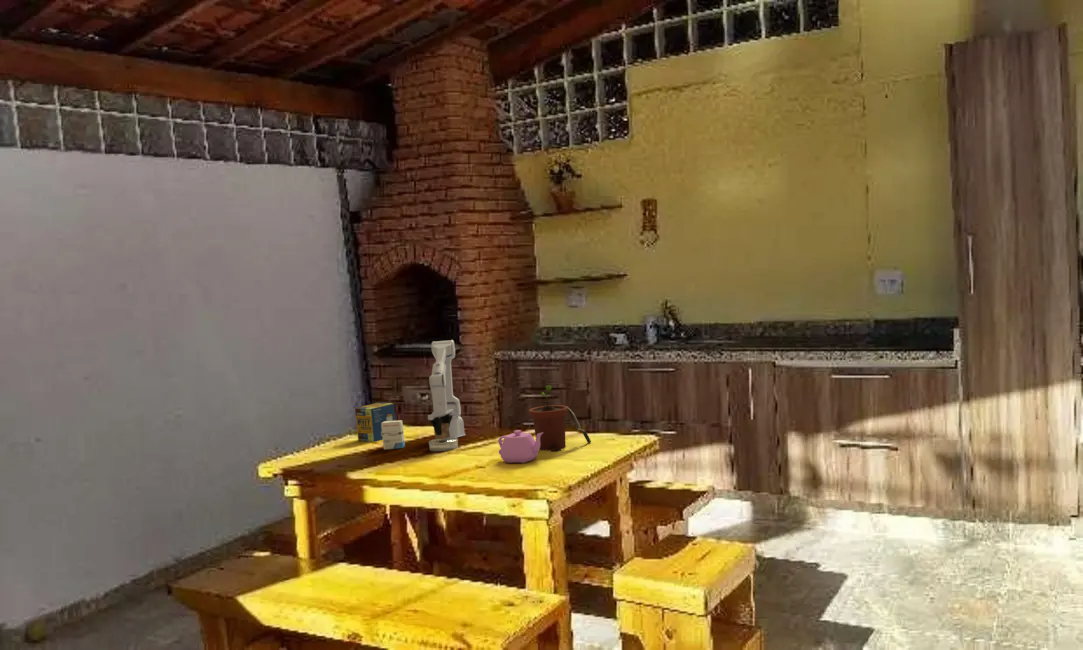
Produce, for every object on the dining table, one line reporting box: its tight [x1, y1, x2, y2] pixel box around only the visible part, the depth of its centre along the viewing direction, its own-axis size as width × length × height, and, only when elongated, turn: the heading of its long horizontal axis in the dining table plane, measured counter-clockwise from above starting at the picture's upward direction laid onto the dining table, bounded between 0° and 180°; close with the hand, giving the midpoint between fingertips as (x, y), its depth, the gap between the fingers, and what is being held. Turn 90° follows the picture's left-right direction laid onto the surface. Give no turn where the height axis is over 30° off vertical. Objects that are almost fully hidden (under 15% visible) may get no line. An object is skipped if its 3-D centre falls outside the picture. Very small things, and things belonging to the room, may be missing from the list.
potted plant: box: [528, 385, 592, 453], centre depth 359 cm, size 18×22×25 cm
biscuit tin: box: [428, 438, 459, 452], centre depth 377 cm, size 12×12×4 cm
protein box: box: [354, 402, 396, 443], centre depth 413 cm, size 10×15×16 cm
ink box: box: [381, 419, 406, 450], centre depth 386 cm, size 8×5×12 cm, turn 84°
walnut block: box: [433, 423, 450, 439], centre depth 377 cm, size 4×4×6 cm
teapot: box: [498, 429, 544, 464], centre depth 339 cm, size 20×13×12 cm, turn 65°
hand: (442, 433), depth 377 cm, fingers closed on walnut block, 4 cm apart
